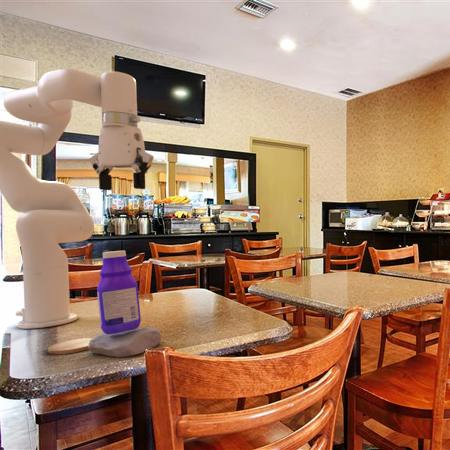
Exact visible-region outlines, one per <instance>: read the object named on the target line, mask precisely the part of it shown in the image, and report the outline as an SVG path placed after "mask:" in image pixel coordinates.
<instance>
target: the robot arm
mask: <svg viewBox="0 0 450 450" xmlns="http://www.w3.org/2000/svg"><path fill="white" fill-rule="evenodd" d="M137 101H138V100H137V81H136V79H135V78H134V77H133V76H132V75H131V74H128V73H125V72H120V71H113V70H112V71H105V72H103V73H101V75H100V76H96V75H94V74H90V73H88V72H85V71H82V70H78V69H75V68H60V69H58V68H57V69H54V70H50V71H49V70H48V71H46V72H45V73H43V74H42V75H41V77H40V79H39V80H38V82H37V85H33V86H29V87H25V88H20V89H15V90H13V91H11V92H9V93H7V94H6V95H5V97H4V99H3V106H4V110H6V111H7V113H9V115H11V116H12V117H14V118H16V119H19V120H21V121H25V122H31V123H34V124H35V123H36V124H37V125H36V126H33V125H27V124H21V123H17V122H11V121H4V120H0V193H1V195H2V196H3V198H4V199H5V202H6V203H7V205H9V207H10V208H11V209H12V210H13V211H15V212H18V213H21V215H19V216H18V217H17V219H16V223H15V231H16V235H17V237H18V241H19V244H20V250H21V259H22V279H23V303H24V304H23V305H24V307H23V308H21V309H20V310H18V311H16V312H15V316H17V317H22V320H19V321H18V322H17V328H19V329H22V330H23V329H24V330H27V329H28V330H29V329H30V330H31V329H43V328H49V327H55V326H61V325H65V324H68V323H73V322H75V321H76V320H77V319H78V315H77V314H76V313H71V303H70V279H69V259H68V256H67V254H66V252H65V251H64V249H63V248H62V247H61V246H60V244H67V243H78V242H85V241H88V239H90V238H91V237H92V236H93V234H94V232H95V224H94V220H93V218H92V216H91V214H90V212H89V210H88V209H87V207H86V205H85V204H84V202H83V201H82V199H81V197H80V196H79V195H78V193H77V192H76V190H75V189H74V188H73V187H72V186H70V185H69V184H67V183H65V182H61V181H50V180H43V179H40V178H38V177H37V176H36V175H35V174H34V172H33V170H32V169H31V167H30V166H29V165H28V164H27V163H26V162H25V161H24V160H22V158H19V157H18V156H16V155H15V154H22V155H28V156H29V155H30V156H45V155H48V154H49V153H50V152H52V150H53V149H54V147H55V146H56V144H57V143H58V141H59V139H60V138H61V136H62V135H63V133H64V132H65V131H66V129H67V127H68V126H69V124H70V121H71V118H72V110H73V107H74V102H79V103H82V104H87V105H90V106H94V107H98V108H101V125H102V126H101V127H100V129H99V136H98V149H97V151H98V152H97V153H95V154H93V155H92V156H90V158H89V162H90V163H91V165H92V169H94V171H95V172H96V174H97V175H98V185H99V187H98V189H99V190H100V191H112V189H113V184H112V183H113V181H112V174H110V173H111V172H112V170H113V169H114V168H116V169H125V168H127V169H128V168H132V169H133V171H134V172H133V174H132V177H133V178H132V179H133V181H132V182H133V188H134V189H135V190H145V189H146V174H147V173H148V170H149V169H150V168H151V167H152V163H153V160H154V158H155V157H154V155H152V154H150V153H148V152H146V148H145V147H146V146H145V140H144V136H143V133H142V129H141V128H140V127H139V126H138V125H139V124H138V123H141V118H140V117H138V102H137ZM13 153H14V154H13Z"/></svg>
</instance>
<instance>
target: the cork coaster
mask: <svg viewBox="0 0 450 450" xmlns="http://www.w3.org/2000/svg"><path fill="white" fill-rule="evenodd" d="M93 338H94V337H84V338H83V337H82V338H75V339H70V340H65V341H61V342H58V343H55V344H52V345H50V346H49V347H48V348H47V353H48V354H50V355H67V354H73V353H79V352H84V351H87V350H89V349H88V345H89V342H90V340H92V339H93Z"/></svg>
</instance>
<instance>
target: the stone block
mask: <svg viewBox="0 0 450 450" xmlns="http://www.w3.org/2000/svg"><path fill="white" fill-rule="evenodd" d="M92 338H93V339H92V340H90V342H89V345H88V349H87V350H89V351H90V352H91V353H93V354H98V355H103V356H106V357H114V358H127V357H133V356H135V355H139V354H143V353H145V352H144V351H145V350H146V349H148V348H151V349H154V348H155V347H157V346H159V345H160V344H161V341H162V334H161V332H160V330H159V328H157V327H155V326H145V327H140V328H139V327H138V328H137V329H134V330H130V331H125V332H121V333H116V334H105V333H104V332H103V333H100V334H98V335H96V336H94V337H92ZM153 347H154V348H153Z"/></svg>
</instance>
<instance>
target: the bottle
mask: <svg viewBox="0 0 450 450" xmlns="http://www.w3.org/2000/svg"><path fill="white" fill-rule="evenodd" d="M132 271H133V268H132V267H131V266H130V265H129V262H128V259H127V253H126V250H115V251H105V252H104V251H103V252H102V267H101V269H100V271H99V275H100V280H99V282H98V284H97V288H96V290H97V292H96V293H97V303H98V313H99V323H100V324H99V325H100V329H101V330H102V332H103V333H105V334H116V333H121V332H125V331H130V330H135V329H139V327H140V325H141V322H142V321H141V320H142V318H141V317H142V316H141V310H140V309H141V308H140V297H139V287H138V282H137V281H136V278H135V277H134V276H133V274H132Z"/></svg>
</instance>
